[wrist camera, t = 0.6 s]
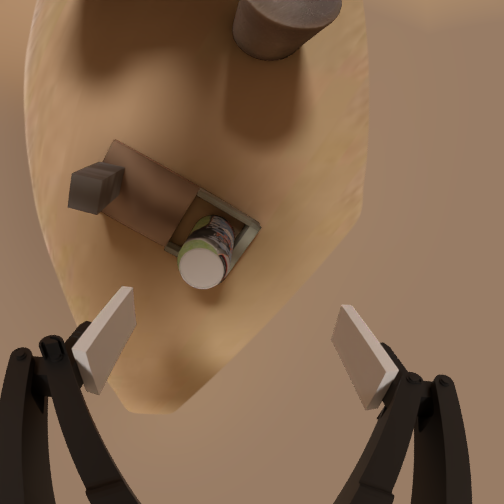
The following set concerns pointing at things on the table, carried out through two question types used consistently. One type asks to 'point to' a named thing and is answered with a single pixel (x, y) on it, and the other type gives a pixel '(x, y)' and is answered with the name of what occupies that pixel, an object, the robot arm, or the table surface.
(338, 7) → the pillar candle
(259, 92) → the table surface
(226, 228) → the beverage can
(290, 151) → the table surface
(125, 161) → the pull strip
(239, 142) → the table surface
